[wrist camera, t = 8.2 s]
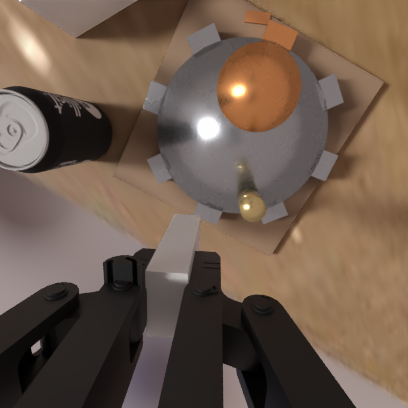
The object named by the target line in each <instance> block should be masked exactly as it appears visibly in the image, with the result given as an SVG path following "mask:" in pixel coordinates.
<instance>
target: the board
mask: <svg viewBox="0 0 408 408" xmlns="http://www.w3.org/2000/svg"><path fill="white" fill-rule="evenodd" d="M270 20H272V21H274V22H276V23H279V24H281V25H283V26H286V27H288V28H291V27H289V26H288V25H286V24H284V23H283V22H281V21H279V20H277V19H276V18H274V17H272V16H271V13H267V12H264V11H262V10H260V9H259V8H257V7H255V6H254V5H252V4H250V3H248V2H247V1H245V0H188V3H187V5H186V7H185V10H184V12H183V14H182V17H181V19H180V21H179V24H178V26H177V28H176V31H175V33H174V35H173V38H172V40H171V42H170V45H169V47H168V49H167V52H166V54H165V56H164V59H163V61H162V63H161V66H160V68H159V70H158V73H157V75H156V77H155V80H154V82H157V83H159V84H162V85H164V86H168V84H169V82H170V80H171V79H172V77H173V76H174V74H175V73H176V72H177V70H178V69H179V68H180V67H181V66H182V65H183V64H184V63H185V62H186V61H187V60H188V59H189V58H190V57H191V56H193V53H192V51H191V48H190V46H189V43H188V40H187V38H186V37H188V36H190V35H191V34H193V33H195V32H197V31H199V30H201V29H203V28H205V27H207V26H209V25H210V24H212V23H214V24H215V27H216V29H217V32H218V34H219V37H220V40H221V41H222V40H226V39H229V38H238V37H255V38H261V39H262V38H263V35H264V33H265V30H266V28H267V25H268V23H269V21H270ZM291 29H293V28H291ZM293 30H294V29H293ZM295 31H296V30H295ZM290 51H292V52H293V53H295V54H296V55H297V56H299V57H300V58H301V59H302V60H303V61H304V62H305V63H306V64H307V66H308V67H309V68H310V69H311V71H312V72H313V73H314V75H315V77H316V79H317V80H318V81H319V80H321V79H323V78H326V77H328V76H330V75H332V74H334V73H335V75H336V78H337V82H338V85H339V88H340V91H341V95H342V98H343V101H344V102H343V103H341V104H339V105H336V106H334V107H332V108H330V109H327V114H328V131H327V138H326V143H325V147H324V150H325V151H328V152H330V153H333V154H335V155H337V153H338V152H339V150H340V149H341V147H342V146H343V144H344V143H345V141H346V140H347V138H348V137H349V135H350V133H351V132H352V130H353V129H354V127H355V126H356V124H357V123H358V121H359V120H360V118H361V117H362V115H363V114H364V112H365V111H366V109H367V107H368V106H369V104H370V103H371V101H372V100H373V98H374V97H375V95H376V94H377V92H378V91H379V89H380V88H381V86H382V85H383V83H384V82H383V81H381V80H380V79H378V78H376V77H375V76H373V75H371V74H370V73H368V72H366V71H364V70H363V69H361V68H359V67H358V66H356V65H354V64H352V63H351V62H349V61H347V60H346V59H344V58H342V57H341V56H339V55H337V54H335V53H334V52H332V51H330V50H329V49H327V48H325V47H323V46H322V45H320V44H318V43H317V42H315V41H313V40H312V39H310V38H308V37H306V36H305V35H303V34H301V33H300V32H298V34H297V36H296V39H295V41H294V43H293V46H292V48H291V50H290ZM143 106H144V105H143ZM157 119H158V115H157V114H155V113H152V112H150V111H147V110H145V109H143V107H142V110H141V112H140V114H139V117H138V119H137V121H136V124H135V126H134V128H133V131H132V133H131V135H130V138H129V140H128V142H127V145H126V147H125V149H124V152H123V154H122V156H121V159H120V161H119V163H118V166H117V168H116V170H115V173H114V175H113V176H114V177H116V178H118V179H120V180H122V181H124V182H126V183H128V184H130V185H132V186H133V187H135V188H137V189H139V190H141V191H143V192H145V193H147V194H149V195H151V196H153V197H155V198H157V199H159V200H161V201H163V202H165V203H167V204H169V205H171V206H172V207H174V208H176V209H178V210H180V211H182V212H184V213H186V214H188V215H193V214H194V211H195V209H196V206H197V203H198V202H197V201H196V200H194V199H192V198H191V197H190V196H189V195H187V194H186V193H185V192H184V191H183V190H182V189H181V188H180V187H179V186H178V185H177V184H176V182H175V181H174V180H173V178H171V179H169V180H166V181H164V182H162V183H160V184H158V182H157V180H156V178H155V176H154V173H153V171H152V169H151V167H150V165H149V163H148V161H147V159H150V158H152V157H154V156H156V155H158V154H160V149H159V145H158V138H157ZM319 181H320V179H318V178H315V177H313V176H310V177H309V179H308V180H307V181H306V182H305V184H304V185H303V186H302V187H301V188H300V189H299V190H298V191H296V192H295V193H294V194H293V195H292V196H290V197H289V198H287V199H286V200H284V201H283V203H284V206H285V208H286V211H287V214H288V215H286V216H284V217H281V218H279V219H276V220H273V221H271V222H268V223H266V224H263V223H262V221H261V220H259V221H257V222H249V221H247V220H245V219H244V218H243V217H242V215H241V213H228V212H222V214H221V216H220V218H219V221H218V223H217V225H216V224H214V223H211V222H208V221H206V220H203V219H201V218H200V221H202V222H204V223H206V224H208V225H210V226H211V227H213V228H215V229H217V230H219V231H221V232H223V233H225V234H227V235H229V236H231V237H233V238H235V239H237V240H239V241H241V242H243V243H245V244H247V245H249V246H250V247H252V248H254V249H256V250H258V251H260V252H262V253H264V254H266V255H268V256H271V254H272V253H273V251H274V250H275V248H276V247H277V245H278V244H279V242H280V241H281V239H282V238H283V236H284V235H285V233H286V231H287V230H288V228H289V227H290V225H291V224H292V222H293V221H294V219H295V218H296V216H297V215H298V213H299V212H300V210H301V209H302V207H303V205H304V204H305V202H306V201H307V199H308V198H309V196H310V195H311V193H312V192H313V190H314V189H315V187H316V186H317V184H318V182H319Z"/></svg>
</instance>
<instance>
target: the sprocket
mask: <svg viewBox="0 0 408 408" xmlns="http://www.w3.org/2000/svg"><path fill="white" fill-rule="evenodd" d="M297 34H298V31H295V30H293V29H291V28H288V27H286V26H283V25H281V24H279V23H276V22H274V21H272V20H270V21H269V23H268V25H267V28H266V30H265V33H264V35H263V38H262V39H261V38H255V37H238V38H229V39H226V40H222V41H221V40H220V37H219V34H218V32H217V29H216V27H215V24H214V23H212V24H210V25H209V26H207V27H205V28H203V29H201V30H199V31H197V32H195V33H193V34H191V35H190V36H188V37H186V38H187V40H188V43H189V46H190V48H191V51H192V53H193V56H191V57H190V58H189V59H188V60H187V61H186V62H185V63H184V64H183V65H182V66H181V67H180V68H179V69H178V70H177V72H176V73H175V74H174V76H173V77H172V79H171V80H170V82H169V84H168V86H164V85H162V84H159V83H157V82H154V81H152V80H151V83H150V86H149V90H148V93H147V96H146V100H145V103H144V106H143V109H145V110H147V111H150V112H152V113H155V114H157V115H158V119H157V138H158V145H159V149H160V154H158V155H156V156H154V157H152V158H150V159H147V161H148V163H149V165H150V167H151V169H152V171H153V173H154V176H155V178H156V180H157V182H158V184H160V183H162V182H164V181H166V180H169V179H171V178H173V180H174V181H175V182H176V184H177V185H178V186H179V187H180V188H181V189H182V190H183V191H184V192H185V193H186V194H187V195H189V196H190V197H191V198H192V199H194V200H196V201H197V202H198V203H197V206H196V209H195V211H194V214H193V215H201V217H200V218H201V219H203V220H206V221H208V222H211V223H214V224H216V225H217V223H218V221H219V218H220V216H221V214H222V212H228V213H241V215H242V217H243V218H244V219H245V220H247V221H249V222H257V221H259V220H261V221H262V223H263V224H266V223H268V222H271V221H273V220H276V219H279V218H281V217H284V216H286V215H288V214H287V211H286V208H285V206H284V203H283V201H284V200H286V199H287V198H289V197H290V196H292V195H293V194H294V193H295V192H296V191H298V190H299V189H300V188H301V187H302V186H303V185H304V184H305V182H306V181H307V180H308V179H309V177H310V176H313V177H315V178H318V179H320V180H323V181H326V179H327V177H328V175H329V173H330V171H331V169H332V167H333V165H334V163H335V161H336V159H337V158H338V155H335V154H333V153H330V152H328V151H325V150H324V147H325V143H326V138H327V131H328V114H327V109H330V108H332V107H334V106H336V105H339V104H341V103H343V102H344V101H343V98H342V95H341V91H340V88H339V85H338V82H337V78H336V75H335V73H334V74H332V75H330V76H328V77H326V78H323V79H321V80H319V81H318V80H317V79H316V77H315V75H314V73H313V72H312V71H311V69H310V68H309V67H308V66H307V64H306V63H305V62H304V61H303V60H302V59H301V58H300V57H299V56H297V55H296V54H295V53H293V52H292V51H290V50H291V48H292V46H293V43H294V41H295V39H296V36H297Z"/></svg>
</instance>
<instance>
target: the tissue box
mask: <svg viewBox="0 0 408 408" xmlns="http://www.w3.org/2000/svg"><path fill="white" fill-rule="evenodd" d="M136 1H137V0H19V2H21V3H22V4H24V5H25V6H27V7H28V8H30V9H31V10H33V11H34V12H36V13H38V14H39V15H41V16H42V17H44V18H45V19H47V20H48V21H50V22H51V23H53V24H54V25H56V26H58V27H59V28H61V29H62V30H64V31H65V32H67V33H68V34H70V35H71V36H73V37H74V38H77V37H78V36H80V35H82V34H83V33H85V32H86V31H88V30H90V29H91V28H93V27H95V26H96V25H98V24H100V23H101V22H103V21H104V20H106V19H108V18H109V17H111V16H113V15H114V14H116V13H118V12H119V11H121V10H123V9H124V8H126V7H127V6H129V5H131V4H132V3H134V2H136Z"/></svg>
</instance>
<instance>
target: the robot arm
mask: <svg viewBox="0 0 408 408" xmlns="http://www.w3.org/2000/svg"><path fill="white" fill-rule="evenodd" d="M200 217H201V215H188V214H175V215H174V216H173V218H172V220H171V222H170V224H169V226H168V228H167V230H166V232H165V234H164V236H163V238H162V240H161V242H160V243H159V245H158V247H157V249H145V248H143V249H141V250H139V251H138V252H136V253H135V254H134V256H129V255H121V256H116V257H112V258H110V259H107V260H106V261H105V262H103V269H104V285H103V286H102V288H101V289H100V290H99V291H96V292H91V293H83V294H79V288H78V287H77V285H75V284H73V283H67V282H61V283H55V284H52V285H49V286H47V287H45V288H43V289H41V290H39V291H38V292H36V293H34V294H33V295H31V296H30V297H28V298H27V299H25V300H24V301H22V302H20V303H19V304H17V305H16V306H14V307H13V308H11V309H9V310H8V311H6V312H5V313H3V314H2V315H0V408H121V407H122V404H123V402H124V399H125V396H126V393H127V390H128V387H129V385H130V381H131V379H132V376H133V373H134V370H135V367H136V364H137V361H138V359H139V356H140V352H141V350H142V347H143V332H144V329H145V327H146V336H152V337H153V336H154V337H166V338H173V342H172V346H171V351H170V355H169V360H168V364H167V369H166V373H165V378H164V382H163V387H162V391H161V396H160V400H159V405H158V408H223V363H224V364H226V365H229V366H232V367H234V368H236V371H237V376H238V379H239V382H240V385H241V388H242V390H243V394H244V396H245V399H246V402H247V405H248V408H356V407H355V405H354V404H353V403H352V401H351V400H350V399H349V397H348V396H347V394H346V393H345V392H344V390H343V389H342V388H341V386H340V385H339V383H338V382H337V381H336V380H335V378H334V376H333V375H332V374H331V372H330V371H329V370H328V368H327V367H326V366H325V364H324V363H323V361H322V360H321V358H320V357H319V356H318V354H317V353H316V352H315V350H314V349H313V347H312V346H311V345H310V343H309V342H308V341H307V339H306V338H305V336H304V335H303V334H302V332H301V331H300V329H299V328H298V327H297V325H296V324H295V323H294V321H293V320H292V318H291V317H290V316H289V314H288V313H287V311H286V310H285V309H284V307H283V306H282V305H281V304H280V303H279V302H278V301H277V300H275V299H273V298H271V297H269V296H265V295H251V296H248V297H246V298H245V299H244V301H243V303H241V302H238V301H235V300H232V299H230V298H228V297H227V296H226V295H224V294H223V292H222V290H221V269H220V268H221V266H220V256H219V255H218V254H217V253H216V252H205V251H199V241H200ZM39 340H40V345H41V348H40V349H39V350H38V351H37V352H35V353H33V354H32V351H31V347H32V346H33V345H34V344H35V343H36V342H38V341H39Z"/></svg>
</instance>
